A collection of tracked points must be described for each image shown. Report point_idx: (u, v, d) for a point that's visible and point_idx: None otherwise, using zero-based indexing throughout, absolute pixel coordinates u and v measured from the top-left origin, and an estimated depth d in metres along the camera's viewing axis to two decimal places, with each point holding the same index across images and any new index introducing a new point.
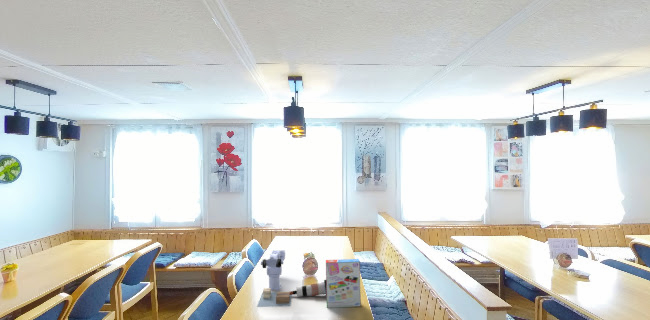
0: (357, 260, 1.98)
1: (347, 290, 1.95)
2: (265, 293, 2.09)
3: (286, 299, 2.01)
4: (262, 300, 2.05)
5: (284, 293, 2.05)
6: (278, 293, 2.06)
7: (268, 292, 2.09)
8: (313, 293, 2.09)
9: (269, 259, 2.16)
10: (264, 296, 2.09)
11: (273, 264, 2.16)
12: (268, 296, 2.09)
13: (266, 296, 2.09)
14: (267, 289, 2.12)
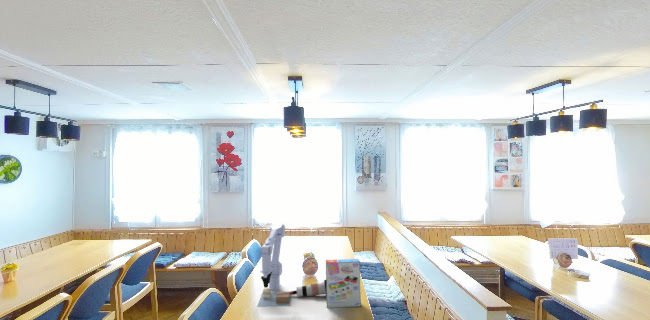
0: (357, 260, 1.98)
1: (347, 290, 1.95)
2: (265, 293, 2.09)
3: (286, 299, 2.01)
4: (262, 300, 2.05)
5: (284, 293, 2.05)
6: (278, 293, 2.06)
7: (268, 292, 2.09)
8: (313, 293, 2.09)
9: None
10: (264, 296, 2.09)
11: None
12: (268, 296, 2.09)
13: (266, 296, 2.09)
14: (267, 289, 2.12)
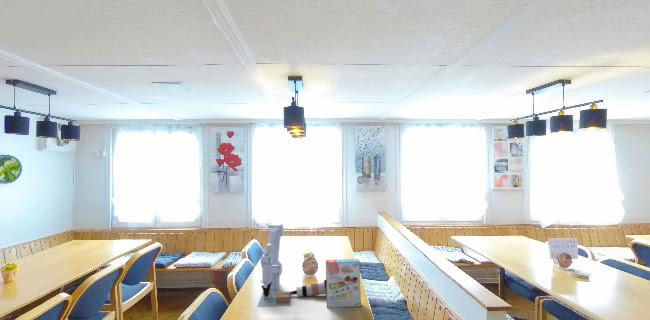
0: (357, 260, 1.98)
1: (347, 290, 1.95)
2: None
3: (286, 299, 2.01)
4: (262, 300, 2.05)
5: (284, 293, 2.05)
6: (278, 293, 2.06)
7: None
8: (313, 293, 2.09)
9: None
10: (264, 296, 2.09)
11: None
12: (268, 296, 2.09)
13: None
14: None
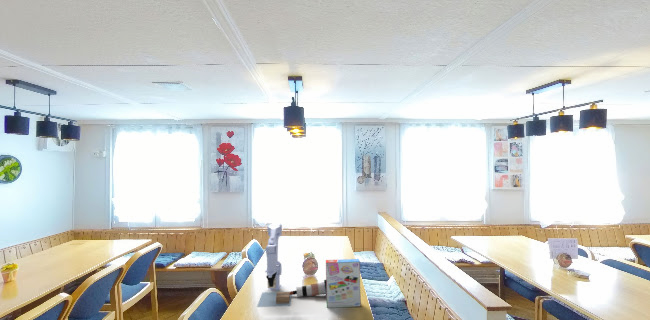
0: (357, 260, 1.98)
1: (347, 290, 1.95)
2: None
3: (286, 299, 2.01)
4: (262, 300, 2.05)
5: (284, 293, 2.05)
6: (278, 293, 2.06)
7: None
8: (313, 293, 2.09)
9: None
10: None
11: None
12: (273, 286, 2.07)
13: None
14: None
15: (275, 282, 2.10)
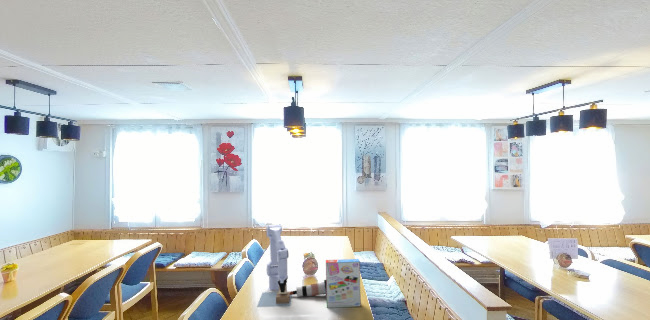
0: (357, 260, 1.98)
1: (347, 290, 1.95)
2: None
3: (286, 299, 2.01)
4: (262, 300, 2.05)
5: None
6: (278, 293, 2.06)
7: None
8: (313, 293, 2.09)
9: None
10: (280, 292, 2.02)
11: None
12: (284, 292, 2.02)
13: (282, 292, 2.02)
14: None
15: (286, 287, 2.06)
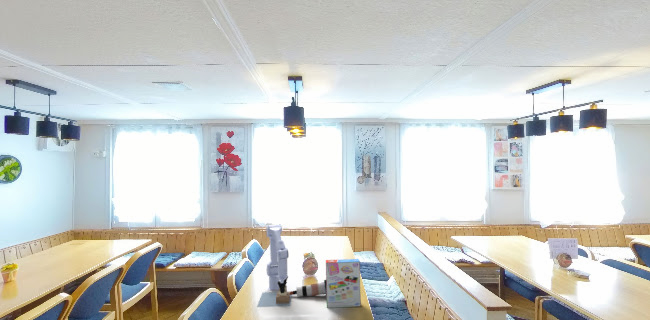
0: (357, 260, 1.98)
1: (347, 290, 1.95)
2: None
3: (286, 299, 2.01)
4: (262, 300, 2.05)
5: None
6: (278, 293, 2.06)
7: None
8: (313, 293, 2.09)
9: None
10: (280, 294, 2.02)
11: None
12: (284, 294, 2.02)
13: (282, 293, 2.02)
14: None
15: (286, 289, 2.06)
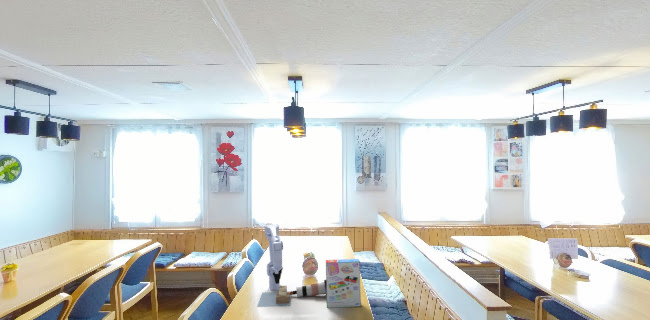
0: (357, 260, 1.98)
1: (347, 290, 1.95)
2: (281, 290, 2.02)
3: (286, 299, 2.01)
4: (262, 300, 2.05)
5: None
6: (278, 293, 2.06)
7: (284, 289, 2.02)
8: (313, 293, 2.09)
9: None
10: (280, 294, 2.02)
11: None
12: (284, 294, 2.02)
13: (282, 293, 2.02)
14: (283, 286, 2.05)
15: (286, 289, 2.06)
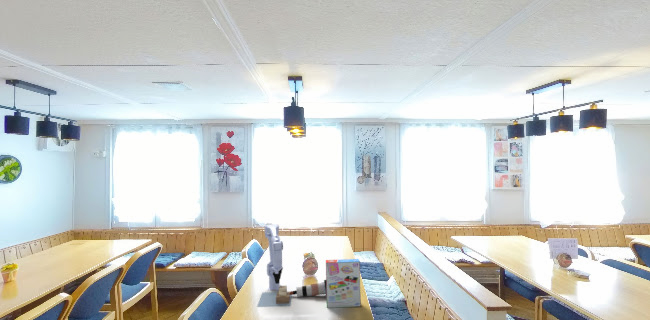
0: (357, 260, 1.98)
1: (347, 290, 1.95)
2: (281, 290, 2.02)
3: (286, 299, 2.01)
4: (262, 300, 2.05)
5: None
6: (278, 293, 2.06)
7: (284, 289, 2.02)
8: (313, 293, 2.09)
9: None
10: (280, 294, 2.02)
11: None
12: (284, 294, 2.02)
13: (282, 293, 2.02)
14: (283, 286, 2.05)
15: (286, 289, 2.06)
